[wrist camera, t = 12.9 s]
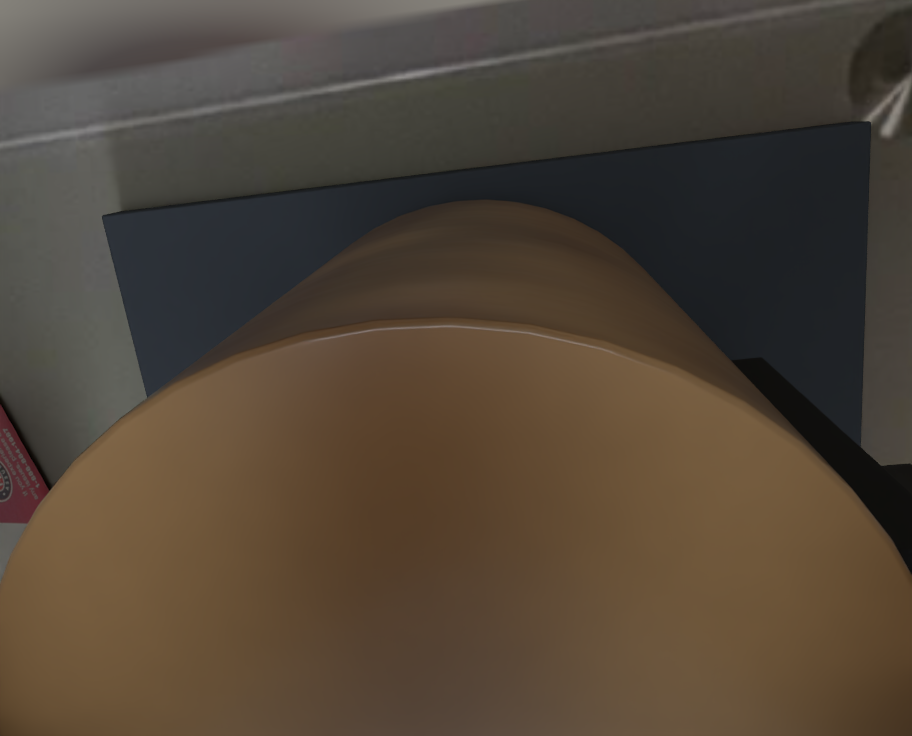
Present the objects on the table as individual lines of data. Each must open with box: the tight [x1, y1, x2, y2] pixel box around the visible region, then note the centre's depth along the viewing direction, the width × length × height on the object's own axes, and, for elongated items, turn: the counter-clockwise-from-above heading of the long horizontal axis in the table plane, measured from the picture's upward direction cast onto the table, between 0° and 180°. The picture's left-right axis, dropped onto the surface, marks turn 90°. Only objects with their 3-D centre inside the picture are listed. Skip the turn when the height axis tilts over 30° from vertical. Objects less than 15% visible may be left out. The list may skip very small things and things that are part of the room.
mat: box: [102, 121, 871, 447], centre depth 20 cm, size 18×10×1 cm, turn 97°
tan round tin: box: [0, 200, 912, 736], centre depth 12 cm, size 9×9×10 cm
